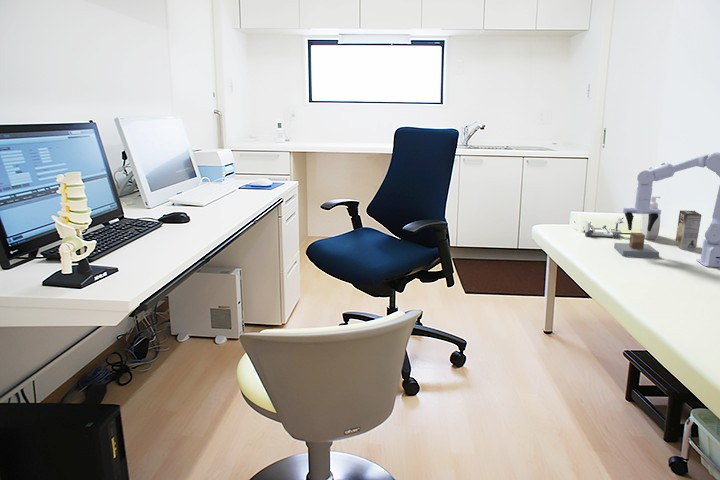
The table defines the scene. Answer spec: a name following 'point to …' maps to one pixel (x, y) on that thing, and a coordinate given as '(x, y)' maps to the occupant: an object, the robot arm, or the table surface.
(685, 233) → the coffee box
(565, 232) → the table surface
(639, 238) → the walnut block
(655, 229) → the soap bottle
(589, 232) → the toy rover
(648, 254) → the grey box
